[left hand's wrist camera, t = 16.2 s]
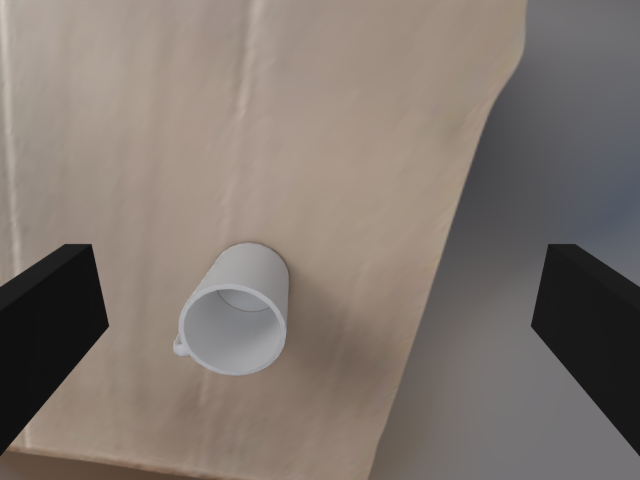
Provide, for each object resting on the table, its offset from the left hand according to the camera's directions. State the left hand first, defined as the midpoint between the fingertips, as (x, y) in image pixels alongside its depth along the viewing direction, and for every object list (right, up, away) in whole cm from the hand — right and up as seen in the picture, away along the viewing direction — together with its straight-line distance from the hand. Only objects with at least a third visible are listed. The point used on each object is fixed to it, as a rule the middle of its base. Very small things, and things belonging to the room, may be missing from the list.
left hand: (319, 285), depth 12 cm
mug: (-8, -3, +33) cm, 34 cm away
